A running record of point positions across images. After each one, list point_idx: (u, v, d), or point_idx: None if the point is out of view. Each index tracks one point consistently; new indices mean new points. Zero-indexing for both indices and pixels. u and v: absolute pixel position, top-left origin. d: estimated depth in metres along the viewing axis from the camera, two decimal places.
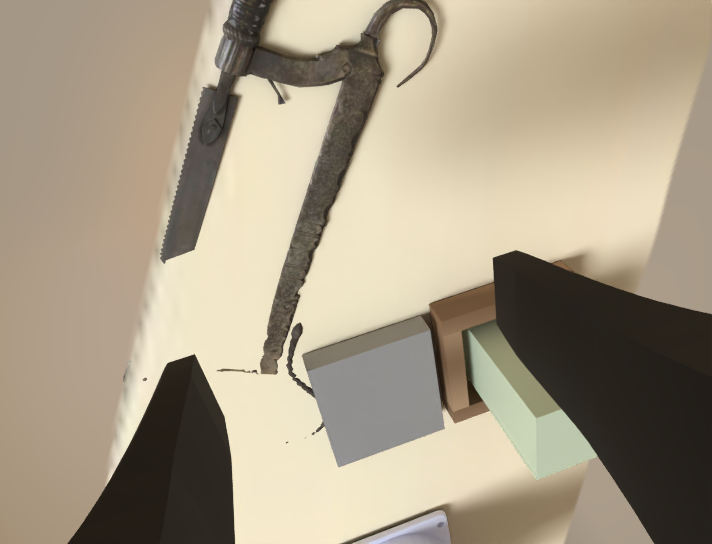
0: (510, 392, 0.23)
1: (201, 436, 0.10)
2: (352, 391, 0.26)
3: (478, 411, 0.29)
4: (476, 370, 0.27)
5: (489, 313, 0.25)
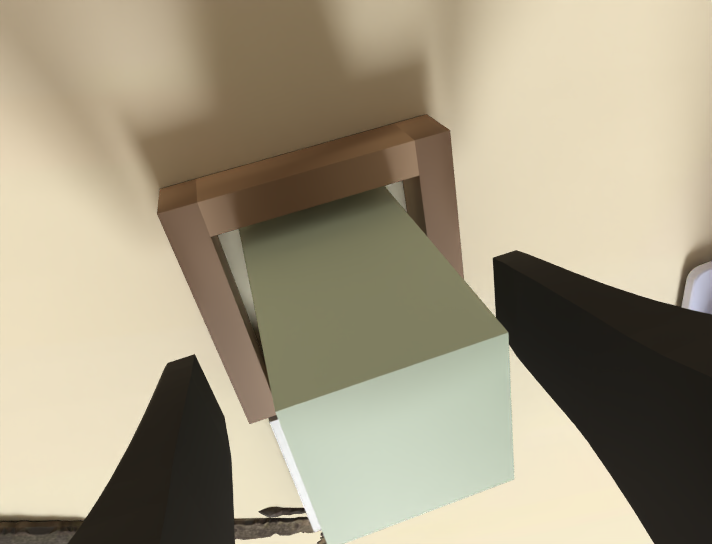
0: None
1: (201, 436, 0.10)
2: None
3: None
4: None
5: (239, 359, 0.15)
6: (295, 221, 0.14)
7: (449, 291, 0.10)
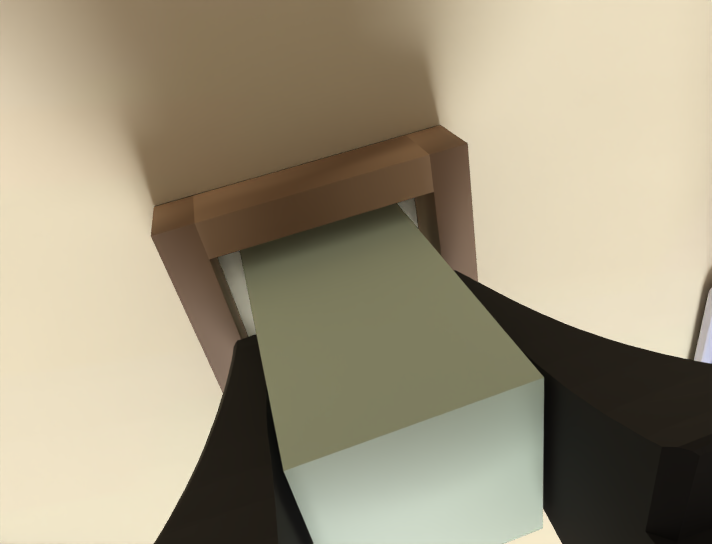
0: None
1: None
2: None
3: None
4: None
5: None
6: (300, 241, 0.13)
7: (474, 326, 0.09)
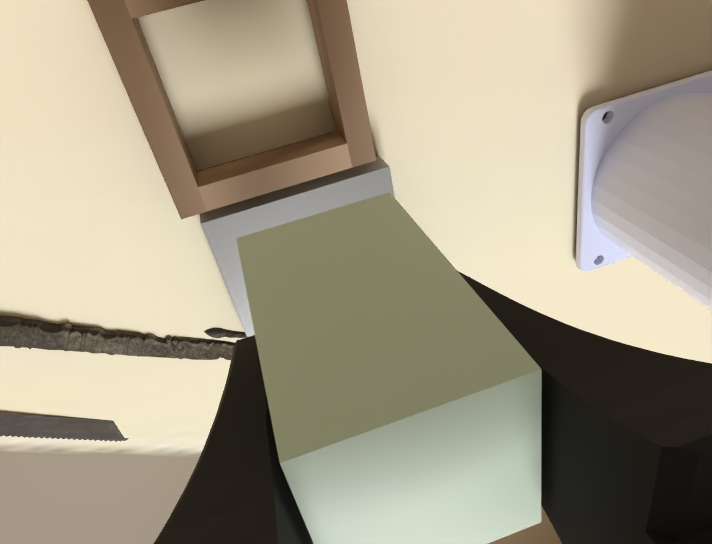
0: None
1: None
2: None
3: (362, 124, 0.18)
4: None
5: (166, 149, 0.17)
6: (297, 236, 0.13)
7: (471, 319, 0.09)
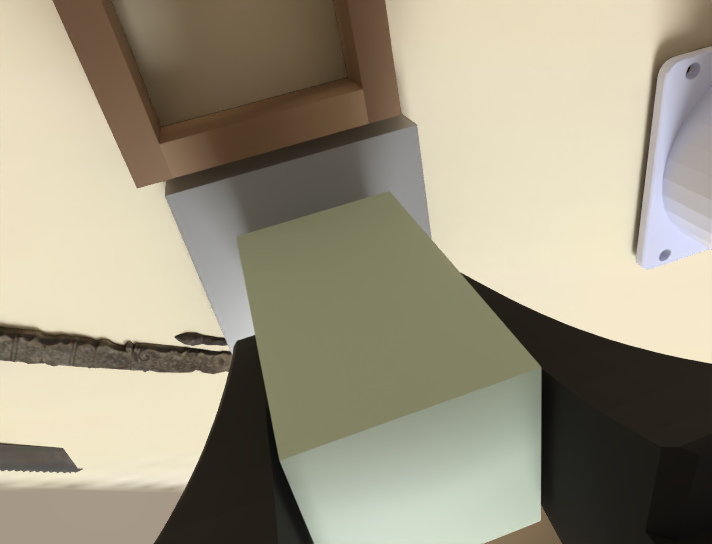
0: None
1: None
2: None
3: (384, 63, 0.14)
4: None
5: (113, 87, 0.12)
6: (297, 234, 0.13)
7: (471, 317, 0.09)
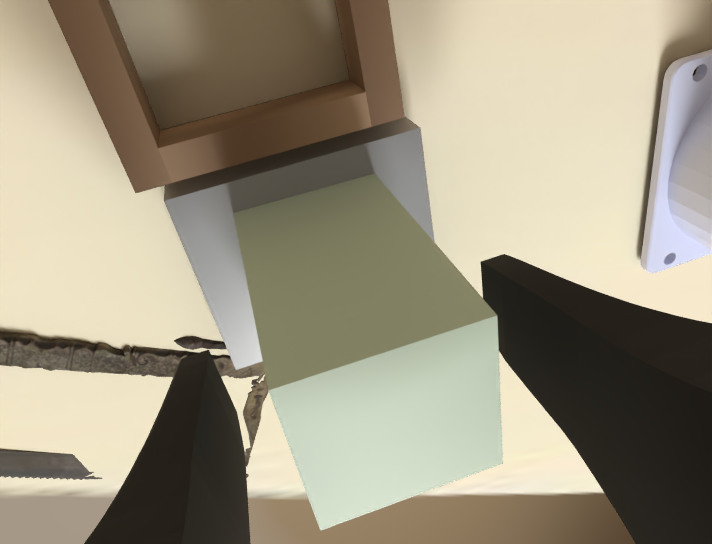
0: None
1: (217, 431, 0.10)
2: None
3: (387, 65, 0.13)
4: None
5: (110, 90, 0.12)
6: (289, 210, 0.14)
7: (440, 276, 0.10)
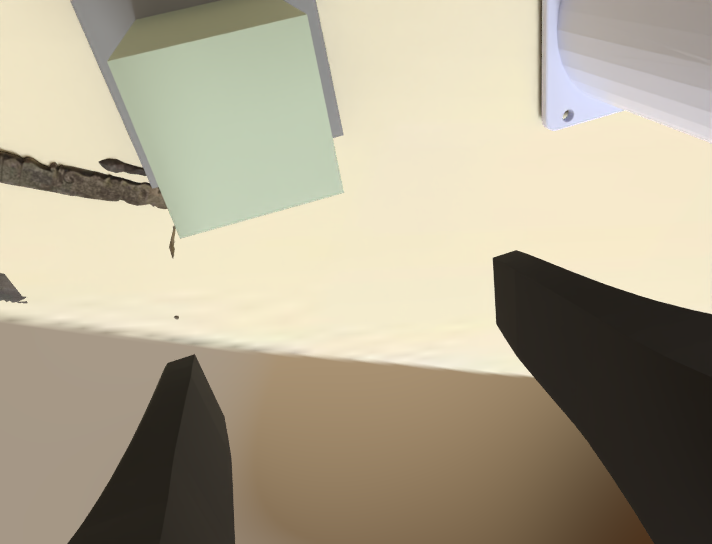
0: None
1: (201, 436, 0.10)
2: None
3: None
4: None
5: None
6: (182, 11, 0.16)
7: (277, 10, 0.12)
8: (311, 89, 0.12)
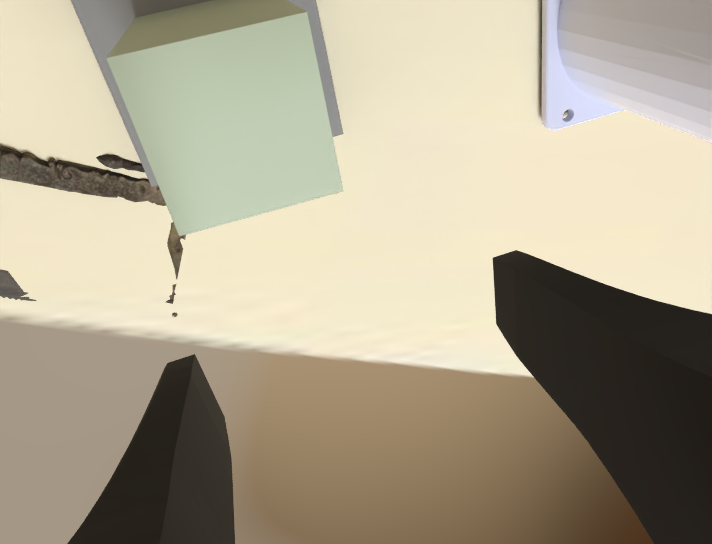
0: None
1: (201, 436, 0.10)
2: None
3: None
4: None
5: None
6: (182, 9, 0.16)
7: (277, 8, 0.12)
8: (311, 87, 0.12)
